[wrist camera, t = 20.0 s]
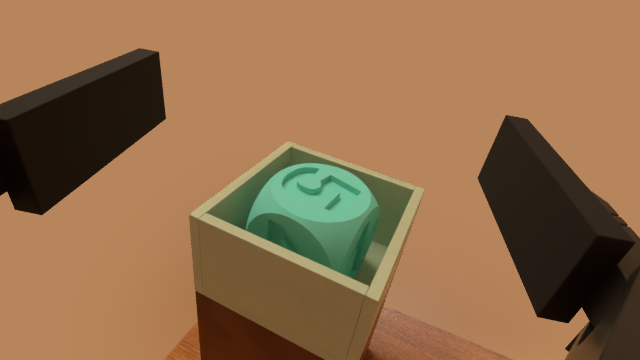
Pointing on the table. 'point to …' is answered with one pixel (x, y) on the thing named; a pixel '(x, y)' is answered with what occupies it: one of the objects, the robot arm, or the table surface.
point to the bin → (299, 261)
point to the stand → (247, 336)
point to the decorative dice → (317, 215)
